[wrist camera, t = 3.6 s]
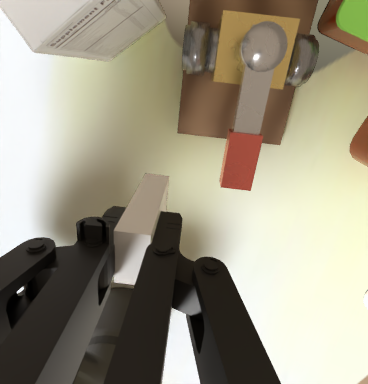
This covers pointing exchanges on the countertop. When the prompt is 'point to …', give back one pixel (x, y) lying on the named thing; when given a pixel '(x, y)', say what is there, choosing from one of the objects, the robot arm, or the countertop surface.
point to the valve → (230, 42)
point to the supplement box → (83, 25)
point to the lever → (251, 102)
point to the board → (228, 93)
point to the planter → (355, 38)
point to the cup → (366, 299)
